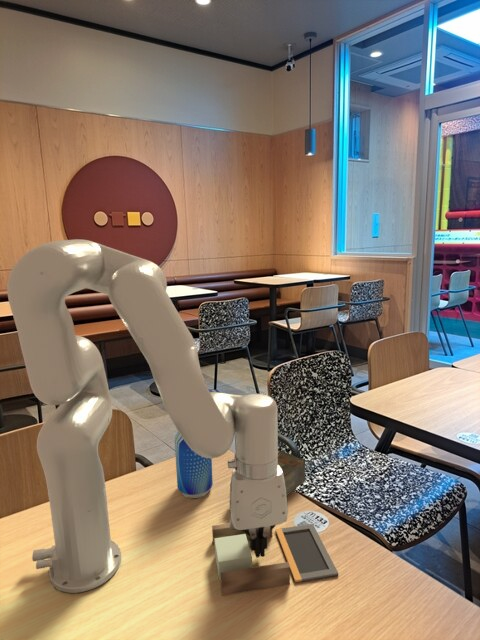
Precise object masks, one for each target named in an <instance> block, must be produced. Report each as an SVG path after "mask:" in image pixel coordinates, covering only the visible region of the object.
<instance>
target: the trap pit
mask: <svg viewBox="0 0 480 640" xmlns="http://www.w3.org/2000/svg"><path fill="white" fill-rule="evenodd" d="M275 534H276V536H277V539H278V542H279V545H280V547H281V549H282V552H283V555H284V557H285V561H286V562H288V564H289V566H290V574H291V575H292V577H293V580H294V583H295V584H297V583H298V584H299V583H303V582H304V583H305V582H309V581H316V580H323V579H327V578H328V579H329V578H333V577H334V578H335V577H339V572H338V569H337V568H336V566H335V563H334V562H333V560H332V558H331V556H330V554H329V552H328V550H327V549H326V546H325V545H324V542H323V541H322V539H321V537H320V535H319V533H318V531H317V529H316V527H315V525H314V524H313V523H310V524H309V523H308V524H301V525H296V526H288V527H282V528H276V529H275Z"/></svg>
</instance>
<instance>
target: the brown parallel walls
mask: <svg viewBox="0 0 480 640" xmlns="http://www.w3.org/2000/svg"><path fill="white" fill-rule="evenodd" d="M257 529H258V528H256V530H257ZM211 531H212V544H213V546H215V539H214V538H220V537H227V536H234V535H241V534H246V533H245V532H243V531H242V530H231V529H230V526H229V522H228V523H223V524H217V525H212V526H211ZM246 537H247V541H250V536H249V535H248V534H246ZM270 537H273V529H272V530H271V531H270V533H269V536H268V537H267V538H270ZM290 584H291V571H290V566H289V564H288V562H287V561H285V562H280V563H279V562H278V563H273V564H267V565H261V566H254V567H253V566H252V568H247V569H241V570H235V571H229V572H222V573H221V581H220V591H221V596H229V595H234V594H239V593H247V592H251V591H257V590H262V589H263V590H264V589H268V588H275V587H276V588H277V587H281V586H287V585H290Z"/></svg>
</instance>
